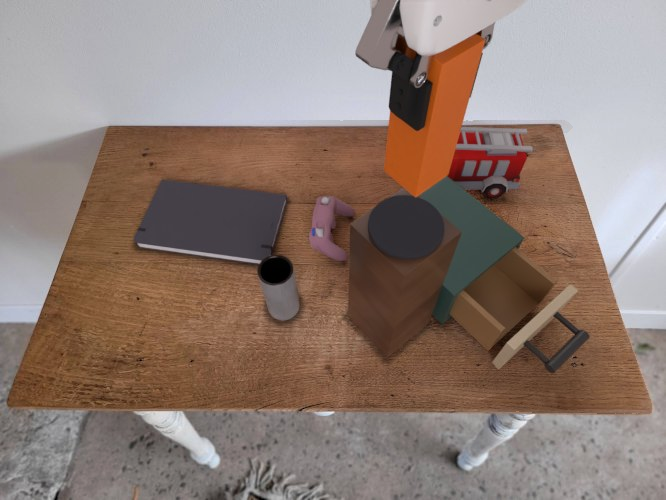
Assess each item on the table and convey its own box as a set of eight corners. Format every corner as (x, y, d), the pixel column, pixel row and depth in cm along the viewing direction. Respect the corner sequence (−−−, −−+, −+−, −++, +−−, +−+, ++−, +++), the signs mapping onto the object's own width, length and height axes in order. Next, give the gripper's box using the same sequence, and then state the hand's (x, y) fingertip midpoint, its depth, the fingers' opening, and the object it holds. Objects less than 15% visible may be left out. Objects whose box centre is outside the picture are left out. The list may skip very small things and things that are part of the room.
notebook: (287, 200, 79) (164, 185, 81) (286, 194, 78) (161, 179, 80) (268, 266, 72) (135, 247, 75) (267, 260, 71) (131, 241, 73)
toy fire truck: (398, 159, 84) (404, 114, 75) (507, 158, 83) (525, 113, 75) (402, 200, 79) (409, 157, 70) (518, 199, 78) (539, 155, 70)
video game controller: (332, 215, 79) (311, 189, 74) (357, 210, 77) (337, 183, 72) (323, 267, 74) (299, 242, 69) (349, 263, 72) (327, 237, 67)
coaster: (459, 231, 48) (460, 228, 48) (404, 273, 46) (405, 270, 45) (406, 187, 52) (407, 183, 51) (352, 224, 49) (352, 220, 49)
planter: (304, 314, 68) (298, 278, 59) (273, 325, 67) (262, 290, 59) (294, 288, 70) (287, 249, 62) (264, 297, 69) (252, 260, 61)
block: (448, 175, 42) (486, 39, 31) (415, 198, 41) (442, 64, 30) (416, 149, 44) (440, 12, 33) (383, 170, 42) (397, 35, 31)
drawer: (587, 338, 64) (611, 316, 59) (528, 397, 60) (547, 380, 55) (483, 250, 72) (495, 223, 66) (424, 297, 68) (431, 273, 62)
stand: (429, 323, 67) (462, 231, 48) (386, 358, 64) (404, 276, 46) (389, 284, 70) (406, 185, 52) (347, 316, 68) (349, 223, 49)
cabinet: (506, 270, 71) (525, 237, 64) (442, 324, 67) (454, 295, 60) (435, 210, 78) (444, 173, 70) (371, 256, 73) (374, 222, 66)
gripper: (415, -163, 16) (379, 191, 32) (683, -258, 22) (541, 82, 37) (283, -216, 19) (309, 129, 35) (546, -287, 25) (468, 37, 40)
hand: (429, 102), depth 36 cm, fingers closed on block, 4 cm apart
